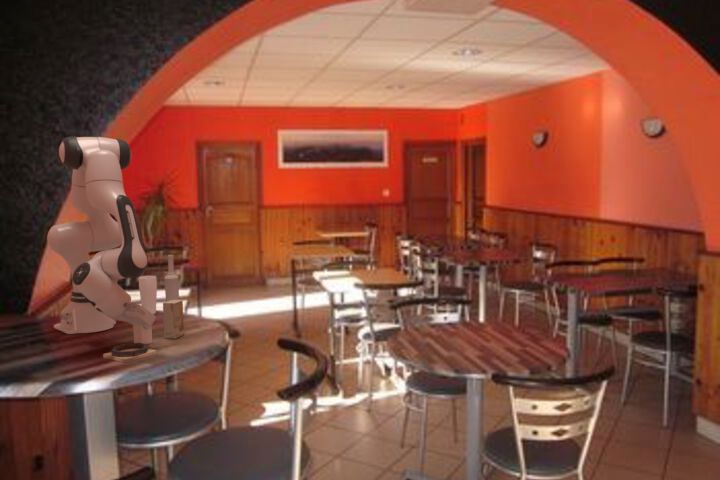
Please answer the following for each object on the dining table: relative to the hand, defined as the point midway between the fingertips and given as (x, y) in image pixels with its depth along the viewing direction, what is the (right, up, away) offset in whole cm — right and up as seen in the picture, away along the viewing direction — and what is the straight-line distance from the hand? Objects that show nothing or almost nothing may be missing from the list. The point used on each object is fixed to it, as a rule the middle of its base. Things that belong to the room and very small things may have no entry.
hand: (144, 326), depth 196 cm
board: (+1, -7, -14) cm, 15 cm away
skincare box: (+7, -5, +8) cm, 12 cm away
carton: (0, -5, 0) cm, 5 cm away
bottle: (0, -2, +32) cm, 32 cm away
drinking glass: (-14, -1, +44) cm, 46 cm away
